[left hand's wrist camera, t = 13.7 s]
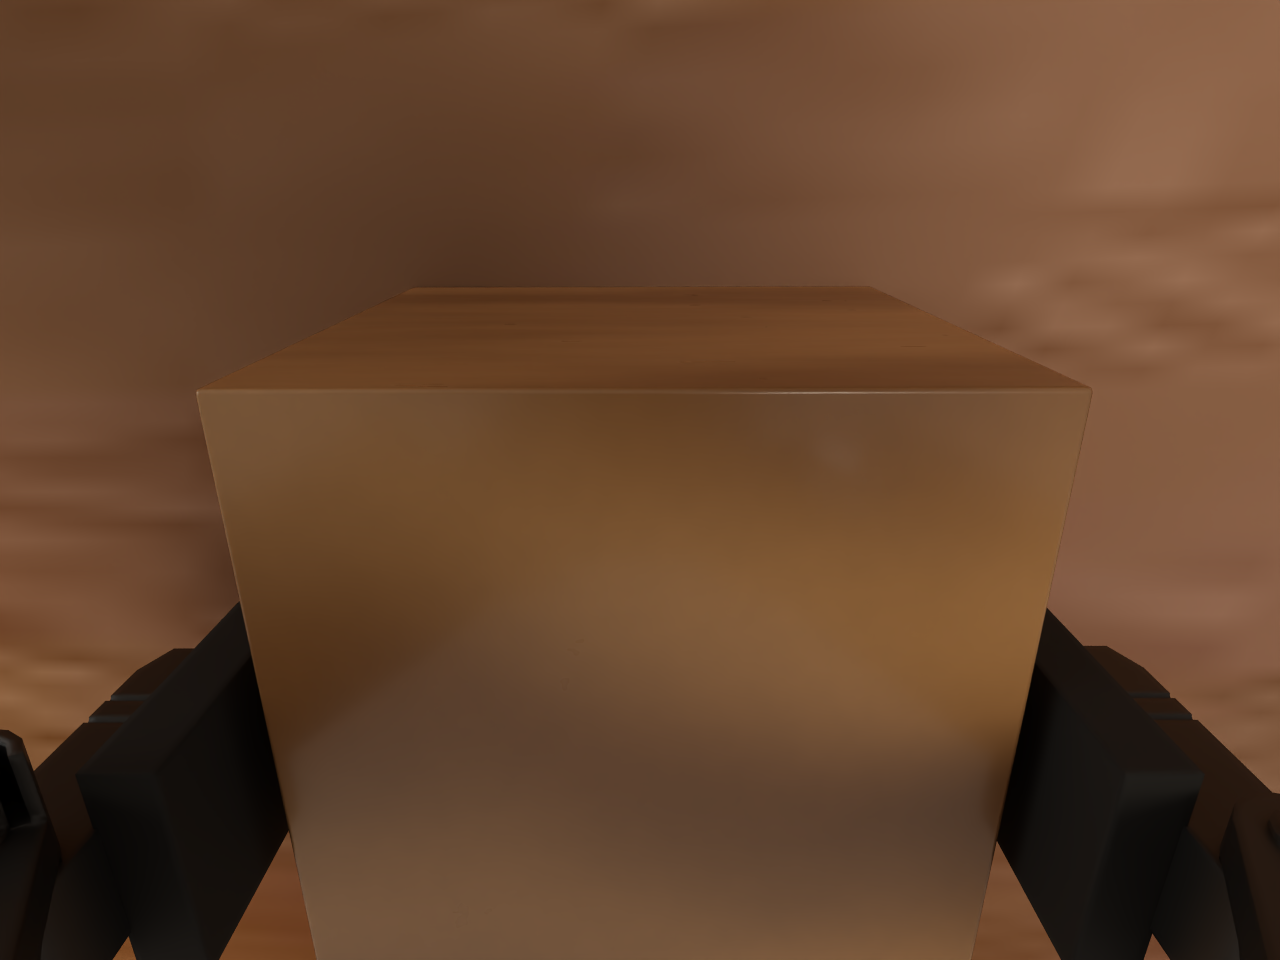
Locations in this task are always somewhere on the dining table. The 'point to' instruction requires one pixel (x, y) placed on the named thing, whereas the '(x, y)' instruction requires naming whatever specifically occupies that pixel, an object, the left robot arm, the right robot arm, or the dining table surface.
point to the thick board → (644, 617)
